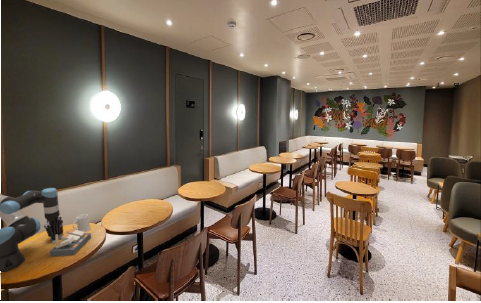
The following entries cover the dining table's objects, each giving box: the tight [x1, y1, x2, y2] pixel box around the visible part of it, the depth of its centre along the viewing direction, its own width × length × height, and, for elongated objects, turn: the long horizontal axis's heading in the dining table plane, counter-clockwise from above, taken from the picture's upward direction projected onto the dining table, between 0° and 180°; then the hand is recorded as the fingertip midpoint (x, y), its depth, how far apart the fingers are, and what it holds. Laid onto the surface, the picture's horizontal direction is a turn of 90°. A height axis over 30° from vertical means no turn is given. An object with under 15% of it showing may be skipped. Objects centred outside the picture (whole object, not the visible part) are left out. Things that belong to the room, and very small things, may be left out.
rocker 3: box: [66, 228, 86, 238], centre depth 161 cm, size 10×4×2 cm, turn 98°
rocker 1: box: [54, 237, 75, 249], centre depth 149 cm, size 10×4×2 cm, turn 94°
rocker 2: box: [60, 232, 80, 242], centre depth 155 cm, size 10×4×2 cm, turn 98°
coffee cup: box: [49, 219, 64, 242], centre depth 164 cm, size 10×10×15 cm
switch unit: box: [49, 232, 92, 257], centre depth 155 cm, size 15×20×5 cm
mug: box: [72, 213, 91, 233], centre depth 176 cm, size 12×8×12 cm
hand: (55, 243), depth 148 cm, fingers closed
